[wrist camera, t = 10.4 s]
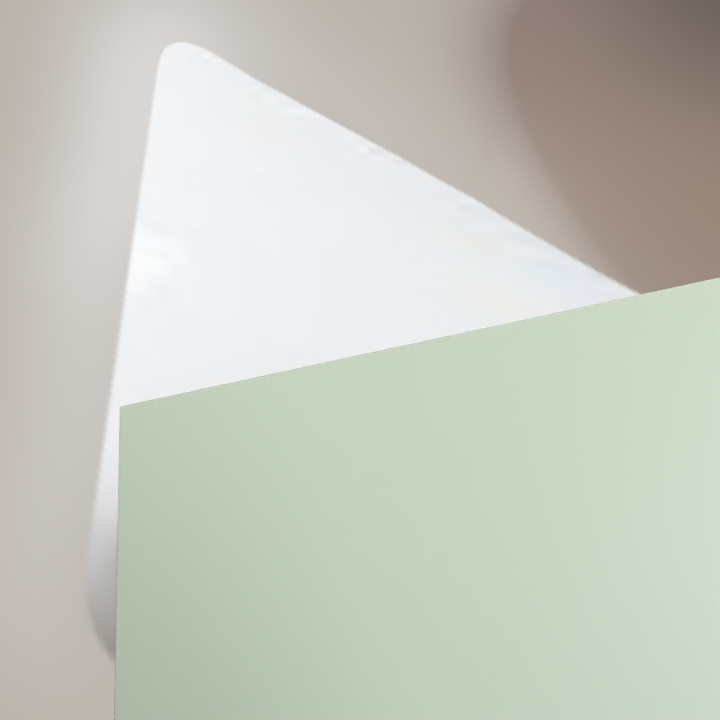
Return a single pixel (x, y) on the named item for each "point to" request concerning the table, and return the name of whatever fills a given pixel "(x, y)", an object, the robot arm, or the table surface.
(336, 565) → the block
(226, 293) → the table surface
